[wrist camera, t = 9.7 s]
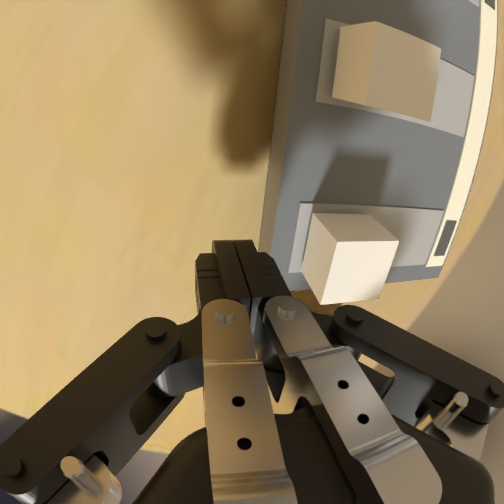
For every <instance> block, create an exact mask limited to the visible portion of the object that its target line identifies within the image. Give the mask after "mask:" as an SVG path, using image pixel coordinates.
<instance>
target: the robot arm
mask: <svg viewBox="0 0 504 504" xmlns="http://www.w3.org/2000/svg"><path fill="white" fill-rule="evenodd" d="M195 293H196V302H197V310H198V315H197V316H196V317H195V318H194V319H193V320H191V321H189V322H187V323H184V324H181V325H177V324H176V323H174V322H173V321H171V320H169V319H167V318H162V317H151V318H147V319H144V320H142V321H140V322H139V323H138V324H136V325H135V326H134V327H133V328H132V329H131V330H130V331H128V332H127V333H126V334H125V335H124V336H123V337H121V338H120V339H119V340H118V341H117V342H116V343H114V344H113V345H112V346H111V347H110V348H109V349H108V350H106V351H105V352H104V353H103V354H102V355H101V356H100V357H98V358H97V359H96V360H95V361H94V362H93V363H92V364H90V365H89V366H88V367H87V368H86V369H85V370H84V371H82V372H81V373H80V374H79V375H78V376H77V377H76V378H74V379H73V380H72V381H71V382H70V383H69V384H68V385H67V386H65V387H64V388H63V389H62V390H61V391H60V392H59V393H58V394H56V395H55V396H54V397H53V398H52V399H51V400H50V401H49V402H47V403H46V404H45V405H44V406H43V407H42V408H41V409H40V410H39V411H37V412H36V413H35V414H34V415H33V416H32V417H31V418H30V419H29V420H28V421H27V422H25V423H24V424H23V425H22V426H21V427H20V428H19V429H18V430H17V431H16V432H14V433H13V434H12V435H11V436H10V437H9V438H8V439H7V440H6V441H5V442H4V443H2V444H1V445H0V488H2V489H3V490H4V491H6V492H7V493H9V494H10V495H12V496H13V497H15V498H16V499H17V500H18V501H19V502H21V503H23V504H119V503H120V500H121V496H122V489H121V486H120V483H119V481H118V480H117V479H116V477H115V476H116V475H117V474H118V473H119V472H120V470H121V469H122V468H123V467H124V466H125V465H126V464H127V463H128V462H129V460H130V459H131V458H132V457H133V456H134V455H135V453H136V452H137V451H138V450H139V449H140V448H141V447H142V446H143V444H144V443H145V442H146V441H147V440H148V439H149V438H150V436H151V435H152V434H153V433H154V432H155V431H156V429H157V428H158V427H159V426H160V425H161V424H162V422H163V421H164V420H165V419H166V418H167V417H168V415H169V414H170V413H171V412H172V411H173V409H174V408H175V407H176V406H177V405H178V403H179V402H180V401H181V400H182V399H183V397H184V395H185V393H186V392H189V391H191V390H194V389H197V388H200V387H203V401H204V419H205V427H204V428H202V429H199V430H197V431H195V432H193V433H192V434H190V435H188V436H187V437H186V438H184V439H183V440H182V441H181V442H180V443H179V444H178V445H177V446H176V447H175V448H174V449H173V450H172V451H171V453H170V454H169V455H168V457H167V458H166V460H165V461H164V462H163V464H162V465H161V466H160V468H159V469H158V470H157V472H156V473H155V474H154V476H153V477H152V478H151V480H150V481H149V482H148V484H147V485H146V486H145V488H144V489H143V490H142V491H141V493H140V494H139V495H138V497H137V498H136V499H135V500H134V502H133V503H132V504H495V501H494V485H493V480H492V477H491V475H490V473H489V472H488V470H487V469H486V468H485V466H484V465H483V464H482V463H480V462H479V461H480V457H481V454H482V450H483V446H484V442H485V438H486V433H487V428H488V424H489V422H490V421H491V420H492V419H493V418H494V417H495V416H496V415H497V414H498V413H499V412H500V411H501V410H502V409H503V408H504V383H503V382H502V381H501V380H499V379H498V378H496V377H494V376H493V375H490V374H489V373H487V372H485V371H483V370H481V369H479V368H477V367H475V366H473V365H471V364H469V363H467V362H465V361H463V360H461V359H460V358H458V357H456V356H454V355H452V354H450V353H448V352H446V351H444V350H442V349H440V348H438V347H436V346H434V345H432V344H430V343H428V342H427V341H425V340H423V339H420V338H419V337H417V336H415V335H413V334H411V333H409V332H407V331H405V330H403V329H401V328H399V327H397V326H396V325H394V324H392V323H390V322H388V321H386V320H384V319H382V318H380V317H378V316H376V315H374V314H372V313H370V312H368V311H366V310H364V309H363V308H360V307H358V306H354V305H343V306H340V307H338V308H337V309H336V310H335V312H334V315H333V316H329V315H322V314H315V313H312V312H310V311H309V309H308V308H307V306H306V305H305V304H304V303H303V302H302V301H301V300H299V299H297V298H294V297H292V295H291V293H290V291H289V289H288V287H287V285H286V283H285V281H284V279H283V276H282V275H281V272H280V270H279V269H278V266H277V264H276V262H275V260H274V259H273V258H272V257H271V256H270V255H268V254H267V253H266V252H257V250H256V248H255V246H254V243H253V241H252V240H233V241H232V240H213V243H212V253H202V254H200V255H199V256H198V258H197V260H196V261H195ZM255 350H256V353H257V357H256V353H255ZM361 353H362V354H364V355H365V356H367V357H369V358H371V359H373V360H375V361H376V362H378V363H380V364H382V365H384V366H386V367H388V368H389V369H391V370H392V371H393V372H394V373H395V376H393V377H387V376H385V375H383V374H381V373H379V372H377V371H375V370H373V369H372V368H370V367H368V366H366V365H364V364H363V363H361V362H359V361H358V359H359V357H360V355H361Z"/></svg>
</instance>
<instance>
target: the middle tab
mask: <svg viewBox="0 0 504 504" xmlns="http://www.w3.org/2000/svg"><path fill="white" fill-rule="evenodd" d="M440 55H441V48H439V47H437V46H435V45H433V44H431V43H428V42H426V41H424V40H422V39H420V38H417V37H415V36H413V35H410V34H408V33H406V32H403V31H401V30H398V29H396V28H393V27H390V26H388V25H385V24H382V23H380V22H377V21H373V22H367V23H360V24H354V25H349V26H344V27H340V36H339V45H338V54H337V62H336V70H335V77H334V85H333V92H332V97H333V98H337V99H341V100H345V101H349V102H353V103H357V104H361V105H365V106H370V107H374V108H378V109H383V110H387V111H391V112H395V113H399V114H403V115H406V116H410V117H414V118H417V119H421V120H424V121H427V122H430V121H431V116H432V110H433V105H434V99H435V93H436V86H437V79H438V72H439V64H440Z"/></svg>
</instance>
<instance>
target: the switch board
mask: <svg viewBox="0 0 504 504" xmlns="http://www.w3.org/2000/svg"><path fill="white" fill-rule="evenodd" d="M373 21H377V22H380V23H382V24H385V25H388V26H390V27H393V28H396V29H398V30H401V31H403V32H406V33H408V34H410V35H413V36H415V37H417V38H420V39H422V40H424V41H426V42H428V43H431V44H433V45H435V46H437V47H439V48H441V55H440V64H439V72H438V79H437V86H436V93H435V99H434V105H433V110H432V116H431V121H430V122H427V121H424V120H421V119H417V118H414V117H410V116H406V115H403V114H399V113H395V112H391V111H387V110H383V109H378V108H374V107H370V106H365V105H361V104H357V103H353V102H349V101H345V100H341V99H337V98H333V97H332V92H333V85H334V77H335V70H336V62H337V54H338V45H339V36H340V27H344V26H349V25H354V24H360V23H367V22H373ZM497 35H498V0H287V6H286V16H285V25H284V34H283V43H282V52H281V61H280V70H279V79H278V87H277V96H276V105H275V114H274V122H273V131H272V140H271V148H270V157H269V165H268V174H267V182H266V191H265V199H264V208H263V216H262V224H261V233H260V241H259V249H258V252H266V253H267V254H268V255H270V256H271V257H272V258H273V259H274V260H275V262H276V264H277V266H278V269H279V270H280V272H281V275H282V276H283V279H284V281H285V283H286V285H287V287H288V289H289V291H299V290H312V289H311V288H310V286H309V284H308V282H307V281H306V279H305V277H304V275H303V274H302V272H301V269H302V264H303V259H304V254H305V250H306V245H307V240H308V235H309V229H310V224H311V219H312V214H313V213H334V214H369V215H371V216H372V217H373V218H375V219H376V220H377V221H378V222H379V223H380V224H381V225H382V226H384V227H385V228H386V229H387V230H388V231H389V232H390V233H391V234H392V235H394V236H395V237H396V238H397V239H398V240H399V244H398V247H397V250H396V252H395V255H394V258H393V261H392V264H391V267H390V270H389V272H388V275H387V278H386V281H385V283H392V282H402V281H411V280H420V279H429V278H438V277H439V274H440V272H441V270H442V267H443V265H444V262H445V260H446V257H447V255H448V252H449V250H450V247H451V245H452V242H453V240H454V237H455V234H456V231H457V229H458V226H459V223H460V220H461V217H462V214H463V211H464V208H465V205H466V202H467V199H468V196H469V192H470V189H471V186H472V182H473V179H474V175H475V171H476V168H477V164H478V160H479V156H480V152H481V148H482V143H483V139H484V134H485V129H486V124H487V119H488V114H489V108H490V102H491V96H492V89H493V81H494V73H495V63H496V52H497Z"/></svg>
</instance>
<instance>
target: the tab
mask: <svg viewBox="0 0 504 504" xmlns="http://www.w3.org/2000/svg"><path fill="white" fill-rule="evenodd" d="M398 244H399V240H398V239H397V238H396V237H395V236H394V235H392V234H391V233H390V232H389V231H388V230H387V229H386V228H385V227H384V226H382V225H381V224H380V223H379V222H378V221H377V220H376V219H375V218H373V217H372V216H371V215H369V214H334V213H313V214H312V219H311V224H310V229H309V235H308V240H307V245H306V250H305V254H304V259H303V264H302V269H301V272H302V274H303V275H304V277H305V279H306V281H307V282H308V284H309V286H310V288H311V289H312V291H313V293H314V295H315V296H316V298H317V300H318V302H319V303H320V305H325V304H335V303H344V302H353V301H362V300H370V299H378V298H379V296H380V294H381V291H382V288H383V286H384V283H385V281H386V278H387V275H388V272H389V270H390V267H391V264H392V261H393V258H394V255H395V252H396V250H397V247H398Z"/></svg>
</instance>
